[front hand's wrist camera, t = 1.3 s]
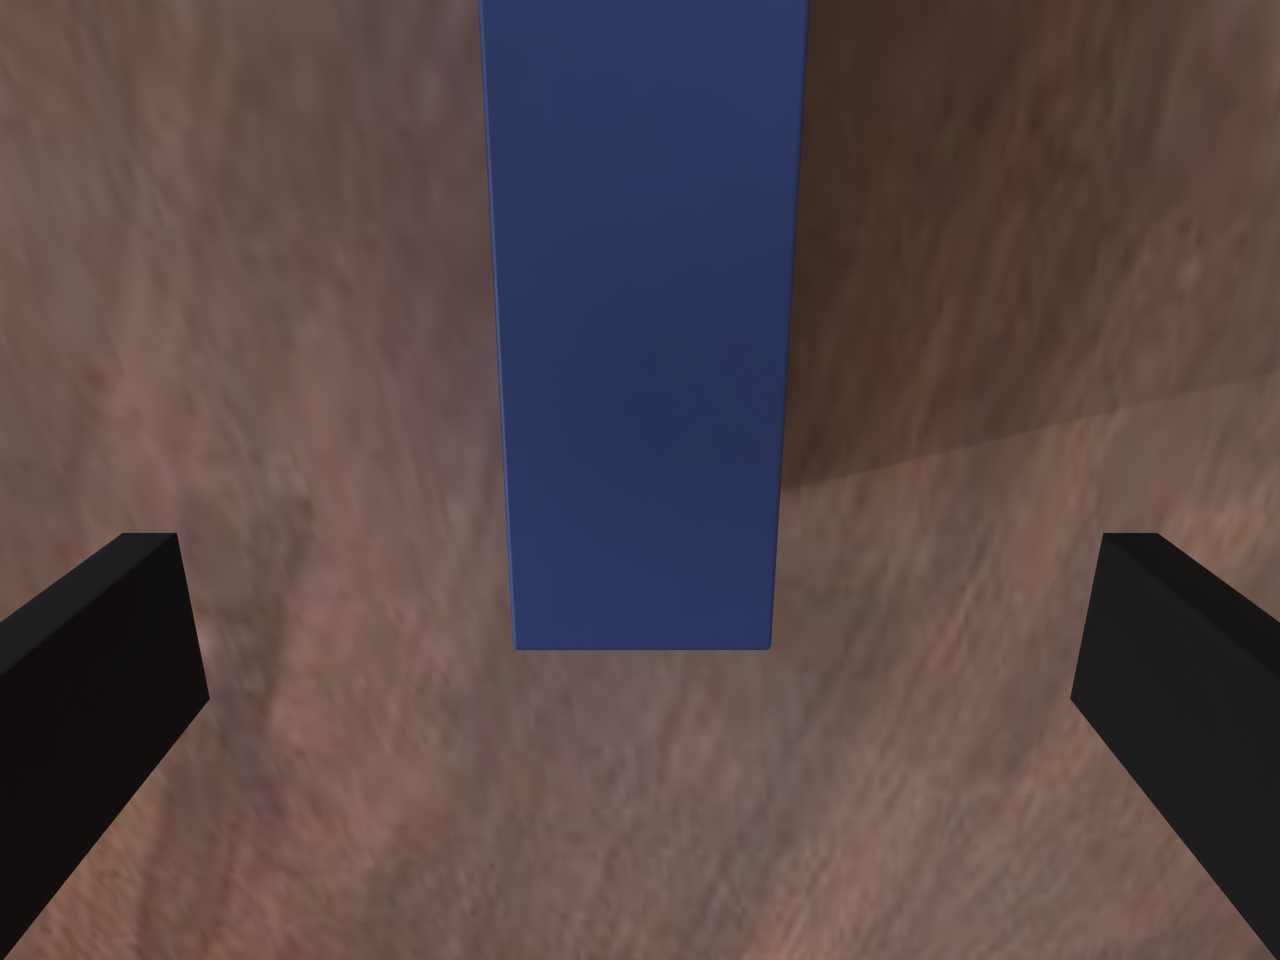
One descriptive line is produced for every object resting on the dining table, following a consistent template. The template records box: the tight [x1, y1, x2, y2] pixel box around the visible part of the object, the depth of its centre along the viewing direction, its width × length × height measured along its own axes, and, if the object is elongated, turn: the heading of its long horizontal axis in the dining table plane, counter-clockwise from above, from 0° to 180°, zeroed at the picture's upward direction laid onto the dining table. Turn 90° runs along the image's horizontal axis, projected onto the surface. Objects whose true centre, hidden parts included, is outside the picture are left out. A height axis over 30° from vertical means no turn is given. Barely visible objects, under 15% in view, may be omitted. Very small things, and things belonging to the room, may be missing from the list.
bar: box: [478, 0, 810, 650], centre depth 19 cm, size 22×6×8 cm, turn 0°
